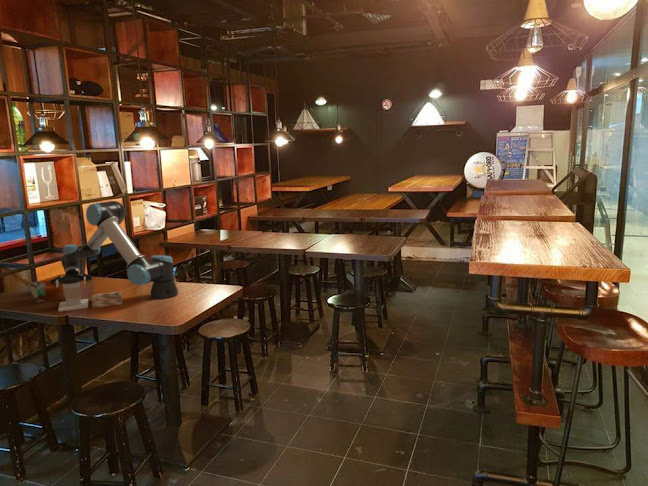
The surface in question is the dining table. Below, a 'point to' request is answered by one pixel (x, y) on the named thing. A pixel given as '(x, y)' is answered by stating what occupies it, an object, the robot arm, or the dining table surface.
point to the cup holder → (106, 302)
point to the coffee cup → (72, 290)
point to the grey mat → (64, 306)
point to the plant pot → (81, 263)
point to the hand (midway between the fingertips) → (71, 283)
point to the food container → (38, 291)
